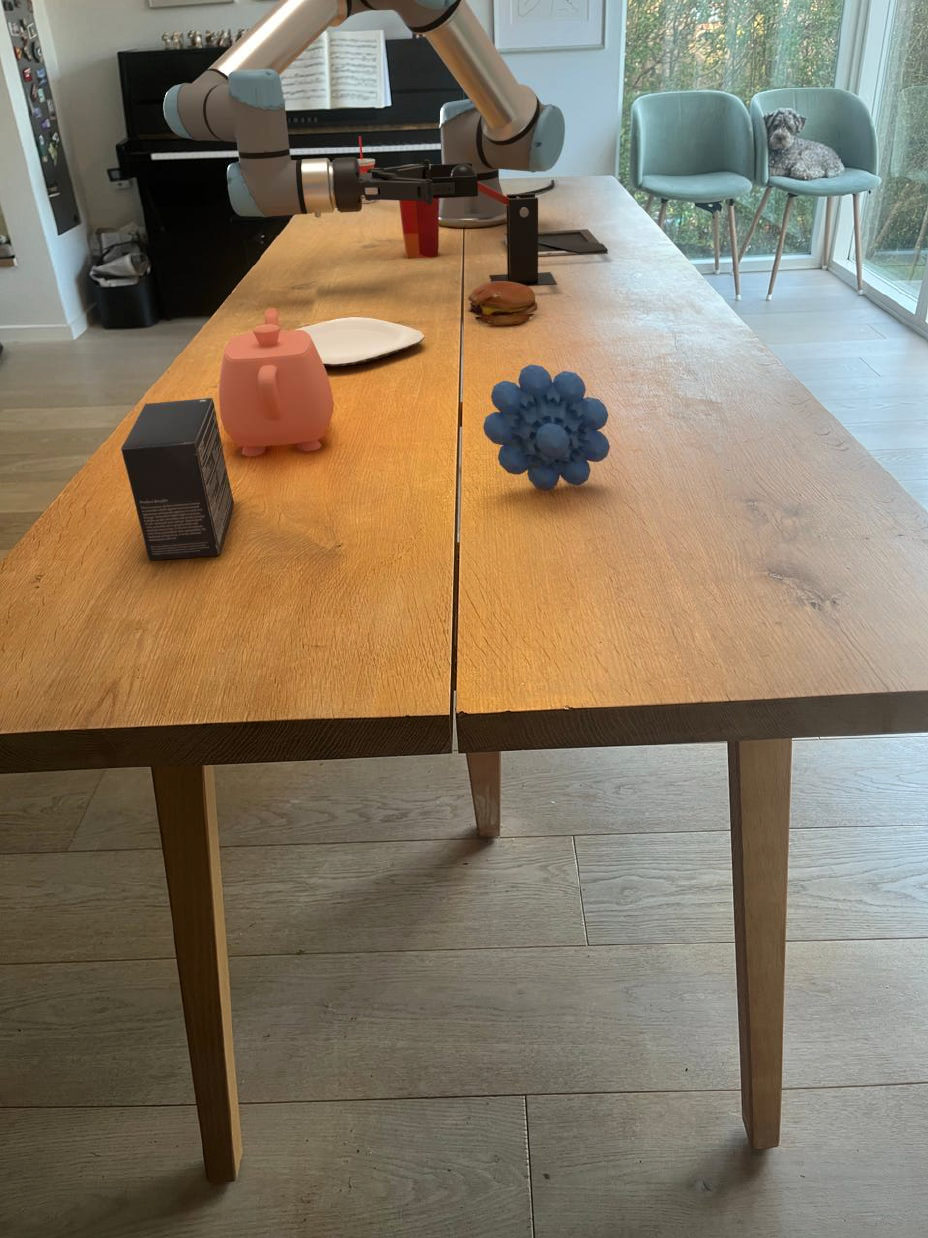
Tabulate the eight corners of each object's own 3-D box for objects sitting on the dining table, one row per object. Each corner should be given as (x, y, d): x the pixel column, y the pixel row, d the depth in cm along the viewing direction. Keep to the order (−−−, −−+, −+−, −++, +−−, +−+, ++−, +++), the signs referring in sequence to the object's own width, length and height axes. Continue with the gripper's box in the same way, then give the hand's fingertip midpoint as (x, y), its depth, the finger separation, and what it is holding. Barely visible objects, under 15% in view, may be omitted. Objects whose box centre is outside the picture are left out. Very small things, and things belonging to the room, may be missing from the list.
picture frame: (607, 261, 172) (587, 237, 189) (608, 249, 171) (587, 226, 188) (516, 266, 171) (504, 241, 189) (516, 254, 170) (504, 230, 188)
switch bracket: (493, 296, 154) (491, 202, 147) (489, 284, 161) (487, 193, 154) (556, 293, 154) (558, 198, 147) (550, 281, 161) (551, 190, 154)
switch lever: (446, 187, 147) (458, 160, 145) (445, 183, 151) (456, 157, 149) (525, 227, 151) (537, 202, 149) (522, 222, 154) (534, 198, 152)
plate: (356, 323, 144) (355, 311, 143) (441, 346, 133) (440, 333, 132) (252, 353, 133) (250, 340, 132) (335, 380, 122) (333, 367, 121)
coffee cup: (446, 250, 184) (442, 162, 177) (441, 259, 178) (437, 169, 170) (402, 250, 185) (396, 163, 177) (395, 260, 178) (389, 170, 170)
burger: (531, 306, 148) (530, 274, 145) (541, 324, 140) (541, 290, 138) (465, 311, 147) (464, 279, 145) (472, 328, 140) (471, 295, 137)
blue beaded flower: (490, 513, 89) (486, 384, 82) (482, 482, 95) (478, 359, 88) (617, 504, 89) (623, 375, 83) (602, 474, 95) (607, 351, 89)
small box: (165, 508, 92) (141, 400, 87) (235, 503, 93) (216, 395, 87) (143, 562, 83) (116, 445, 78) (221, 556, 84) (199, 440, 78)
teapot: (339, 467, 99) (326, 348, 93) (220, 477, 98) (198, 358, 92) (334, 400, 116) (323, 296, 110) (232, 409, 115) (214, 304, 108)
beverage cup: (352, 200, 237) (346, 135, 229) (377, 198, 237) (372, 134, 230) (352, 204, 231) (346, 138, 224) (378, 202, 232) (373, 137, 224)
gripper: (341, 198, 161) (470, 192, 161) (331, 227, 140) (480, 220, 140) (336, 147, 157) (469, 141, 157) (325, 170, 136) (479, 162, 136)
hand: (475, 178), depth 149 cm, fingers open, 13 cm apart
